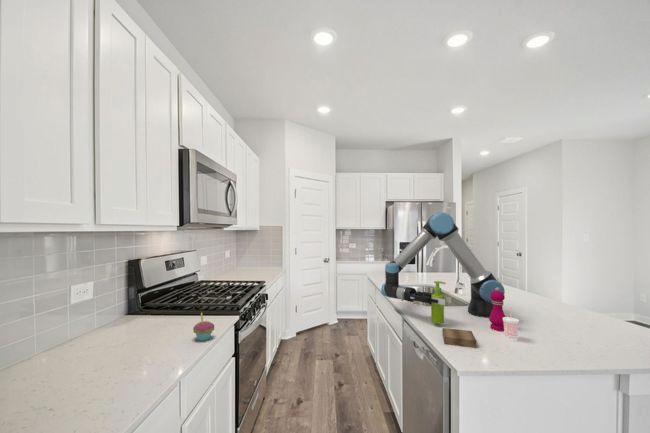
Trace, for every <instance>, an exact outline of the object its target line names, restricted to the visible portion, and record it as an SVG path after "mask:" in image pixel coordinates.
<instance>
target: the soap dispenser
mask: <svg viewBox="0 0 650 433" xmlns="http://www.w3.org/2000/svg"><path fill="white" fill-rule="evenodd" d="M433 283H434V284H435V287H433V293H434V294H432V295H431V298H432V297H434V298H440V299H444V296H445V295H444V294H442V288H441V287H440V284H442V285H445V284H447V282H444V281H439V280H435V281H434V282H433ZM430 305H431V306H430V307H431V308H430V310H431V313H430V316H431V317H430V318H431V319H430V322H432V323H435V324H444V323H445V305H440V304H435V303H432V304H430Z"/></svg>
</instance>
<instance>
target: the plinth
mask: <svg viewBox="0 0 650 433" xmlns="http://www.w3.org/2000/svg"><path fill="white" fill-rule="evenodd" d="M441 329H442V330H441V332H442V340H443V344H444V345H447V346H458V347H464V348H471V349H473V348H474V349H477V340H476V337H475V335H474V333H473V331H472V330H467V329H456V328H448V327H447V328H446V327H442V328H441Z"/></svg>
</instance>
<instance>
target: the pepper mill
mask: <svg viewBox="0 0 650 433" xmlns="http://www.w3.org/2000/svg"><path fill="white" fill-rule="evenodd" d="M495 290H496V291H492V292H491V294H490V297H491V298H492V304H493V309H492V312H491V314H490V317H488V319H489V322H490V329H491V328H492V329H491V330H493V329H494V330H493V331H495V330H497V331H496V332H504V322H503V317H506V315H505V313H504V310H503V305H504V300H505V299H506V298H505V293H504V294H503V293H502V292H501V291H499V288H498V287H497V288H495Z"/></svg>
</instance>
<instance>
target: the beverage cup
mask: <svg viewBox="0 0 650 433" xmlns="http://www.w3.org/2000/svg"><path fill="white" fill-rule="evenodd" d="M503 322H504V331H503V332H504V334H503V335H504V340H505V341H508V342H510V341H511V342H510V343H517V342H518V338H519V337H518V336H519V322H520V319H518V318H515V317H512V307H510V306H509V316H505V317H503Z"/></svg>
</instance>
